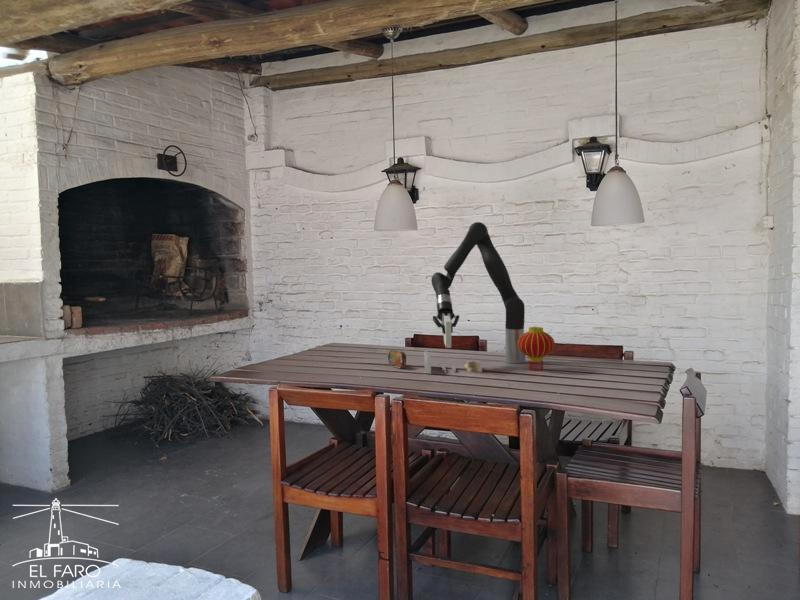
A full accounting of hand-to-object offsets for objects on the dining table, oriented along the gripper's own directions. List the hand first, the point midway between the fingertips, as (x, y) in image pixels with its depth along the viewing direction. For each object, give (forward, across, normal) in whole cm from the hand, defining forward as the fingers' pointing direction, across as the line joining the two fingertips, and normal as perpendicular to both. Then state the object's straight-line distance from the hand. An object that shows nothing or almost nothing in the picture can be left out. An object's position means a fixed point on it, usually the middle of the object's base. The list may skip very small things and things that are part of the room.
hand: (447, 332), depth 290 cm
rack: (+13, -4, +12) cm, 18 cm away
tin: (+5, -24, +20) cm, 32 cm away
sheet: (+2, 0, +6) cm, 6 cm away
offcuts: (+14, +12, +12) cm, 22 cm away
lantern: (+17, +41, +9) cm, 45 cm away
